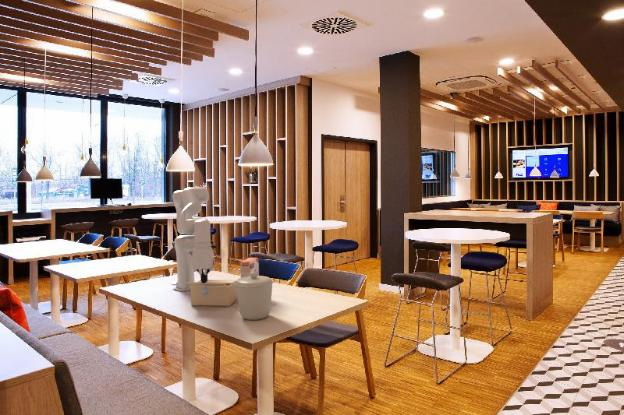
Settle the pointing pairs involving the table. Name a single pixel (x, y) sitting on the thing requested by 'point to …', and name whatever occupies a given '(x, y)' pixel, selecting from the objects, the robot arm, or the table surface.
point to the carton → (214, 294)
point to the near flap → (207, 285)
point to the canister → (254, 296)
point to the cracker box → (249, 266)
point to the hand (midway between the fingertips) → (204, 282)
